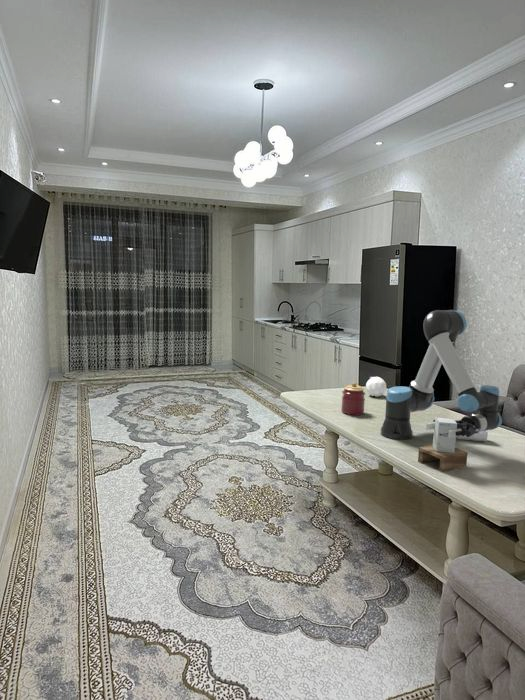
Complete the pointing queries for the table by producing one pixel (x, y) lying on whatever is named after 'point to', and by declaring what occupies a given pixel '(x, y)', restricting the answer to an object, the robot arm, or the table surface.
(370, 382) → the geodesic sphere
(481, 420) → the robot arm
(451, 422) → the supplement box
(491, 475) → the table surface
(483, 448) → the table surface
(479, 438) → the white bottle
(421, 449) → the shelf
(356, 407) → the canister
